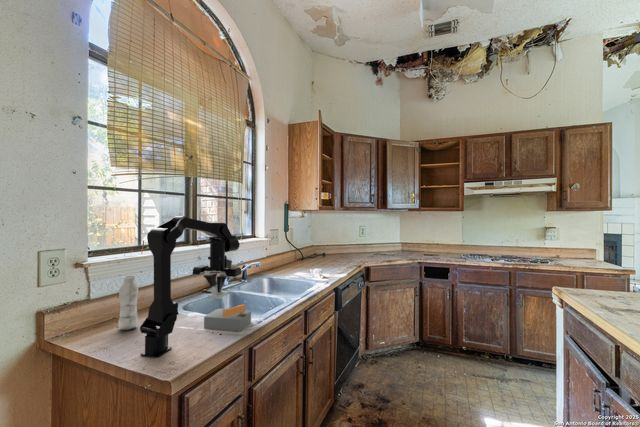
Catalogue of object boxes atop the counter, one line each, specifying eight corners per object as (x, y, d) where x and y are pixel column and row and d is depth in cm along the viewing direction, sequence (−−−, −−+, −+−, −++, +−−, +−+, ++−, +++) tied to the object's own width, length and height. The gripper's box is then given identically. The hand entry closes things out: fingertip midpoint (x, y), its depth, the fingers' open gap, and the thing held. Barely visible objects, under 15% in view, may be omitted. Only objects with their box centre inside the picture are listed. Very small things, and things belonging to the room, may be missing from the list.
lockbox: (240, 331, 111) (240, 319, 111) (203, 328, 114) (204, 316, 114) (251, 322, 121) (251, 311, 121) (217, 319, 124) (217, 308, 124)
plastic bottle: (122, 333, 108) (122, 279, 108) (115, 329, 112) (116, 276, 112) (141, 328, 113) (142, 276, 113) (134, 324, 117) (134, 274, 117)
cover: (219, 298, 115) (219, 288, 115) (207, 298, 116) (208, 287, 116) (228, 294, 122) (228, 284, 122) (217, 293, 122) (217, 283, 122)
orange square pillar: (245, 314, 117) (245, 304, 117) (225, 320, 109) (225, 310, 109) (242, 313, 118) (242, 304, 118) (222, 319, 110) (222, 309, 110)
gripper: (247, 252, 125) (247, 288, 125) (207, 250, 128) (207, 285, 128) (235, 255, 114) (234, 295, 114) (191, 253, 117) (191, 292, 117)
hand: (216, 292), depth 119 cm, fingers closed on cover, 2 cm apart
